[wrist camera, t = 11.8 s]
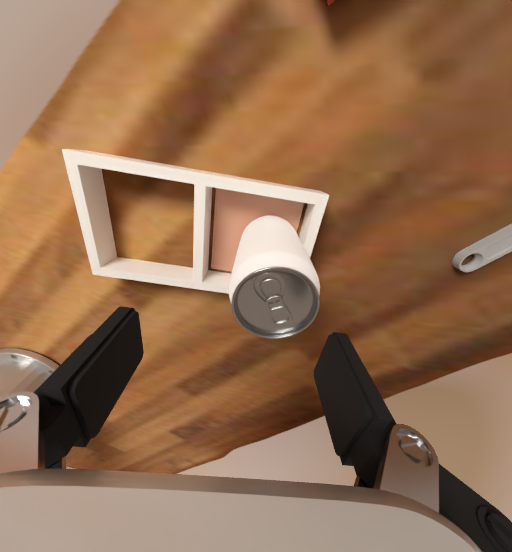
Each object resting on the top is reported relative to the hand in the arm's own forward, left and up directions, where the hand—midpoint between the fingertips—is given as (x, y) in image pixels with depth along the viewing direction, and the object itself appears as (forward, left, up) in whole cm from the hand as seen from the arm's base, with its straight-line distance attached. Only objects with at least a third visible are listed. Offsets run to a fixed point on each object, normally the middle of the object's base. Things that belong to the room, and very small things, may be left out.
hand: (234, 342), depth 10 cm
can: (0, -2, -15) cm, 16 cm away
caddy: (0, +5, -15) cm, 16 cm away
